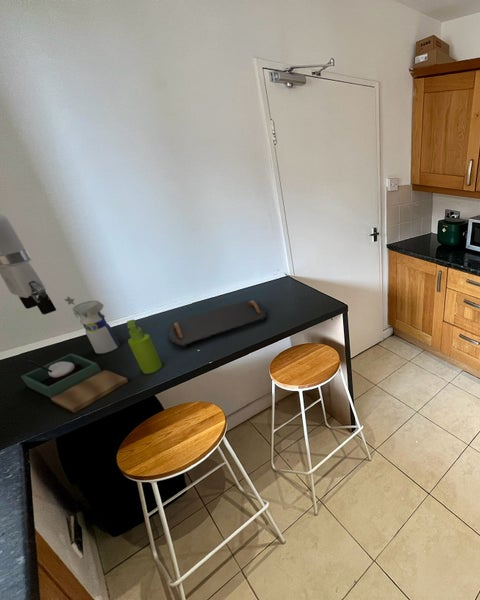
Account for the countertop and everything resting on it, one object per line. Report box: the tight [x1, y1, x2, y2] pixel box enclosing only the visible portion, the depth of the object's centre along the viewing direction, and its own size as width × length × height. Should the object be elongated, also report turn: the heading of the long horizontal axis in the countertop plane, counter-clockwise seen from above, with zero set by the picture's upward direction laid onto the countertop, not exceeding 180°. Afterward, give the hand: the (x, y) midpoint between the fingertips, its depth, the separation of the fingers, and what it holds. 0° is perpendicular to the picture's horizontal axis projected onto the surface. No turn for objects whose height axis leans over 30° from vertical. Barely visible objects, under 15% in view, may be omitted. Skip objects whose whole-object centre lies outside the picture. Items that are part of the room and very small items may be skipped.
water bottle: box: [64, 296, 121, 354], centre depth 119 cm, size 8×9×25 cm
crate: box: [20, 352, 103, 399], centre depth 107 cm, size 14×16×4 cm
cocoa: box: [27, 359, 82, 382], centre depth 105 cm, size 10×6×12 cm, turn 133°
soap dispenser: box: [126, 319, 163, 375], centre depth 109 cm, size 6×7×20 cm
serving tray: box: [167, 300, 267, 349], centre depth 139 cm, size 39×23×6 cm, turn 131°
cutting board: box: [50, 369, 129, 414], centre depth 103 cm, size 15×12×2 cm
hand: (41, 309), depth 99 cm, fingers open, 9 cm apart
